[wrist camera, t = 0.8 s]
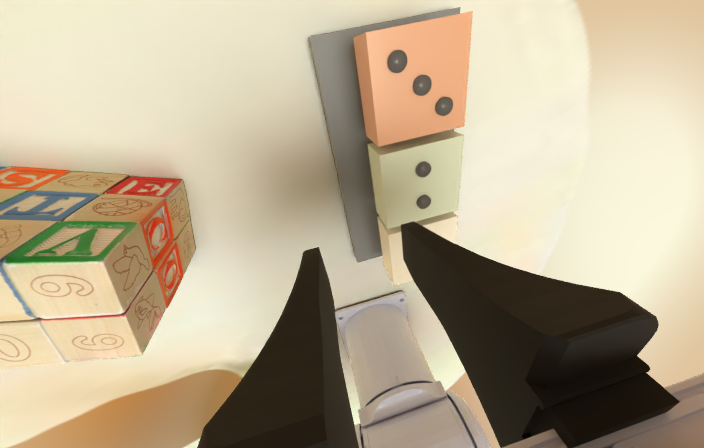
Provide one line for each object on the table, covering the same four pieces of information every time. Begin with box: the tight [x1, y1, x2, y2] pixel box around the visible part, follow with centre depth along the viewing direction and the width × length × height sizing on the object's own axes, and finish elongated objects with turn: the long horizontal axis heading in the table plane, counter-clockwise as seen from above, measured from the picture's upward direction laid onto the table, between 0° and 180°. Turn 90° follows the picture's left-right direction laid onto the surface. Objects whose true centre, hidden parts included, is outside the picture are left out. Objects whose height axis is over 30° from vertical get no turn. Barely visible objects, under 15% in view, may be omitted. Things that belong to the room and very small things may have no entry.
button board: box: [308, 7, 460, 263], centre depth 19 cm, size 17×9×3 cm, turn 10°
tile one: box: [377, 212, 458, 286], centre depth 20 cm, size 5×5×3 cm
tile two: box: [368, 130, 464, 229], centre depth 17 cm, size 5×5×3 cm
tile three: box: [353, 11, 473, 147], centre depth 14 cm, size 5×5×3 cm
